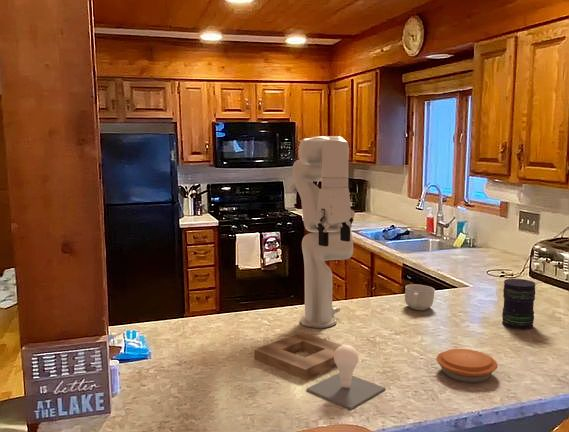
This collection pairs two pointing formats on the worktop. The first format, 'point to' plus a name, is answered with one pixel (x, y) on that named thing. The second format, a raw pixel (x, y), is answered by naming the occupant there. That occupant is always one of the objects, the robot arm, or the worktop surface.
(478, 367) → the pie
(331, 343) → the holder
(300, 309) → the worktop surface
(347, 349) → the lightbulb
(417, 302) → the teacup
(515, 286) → the storage jar
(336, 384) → the mat
